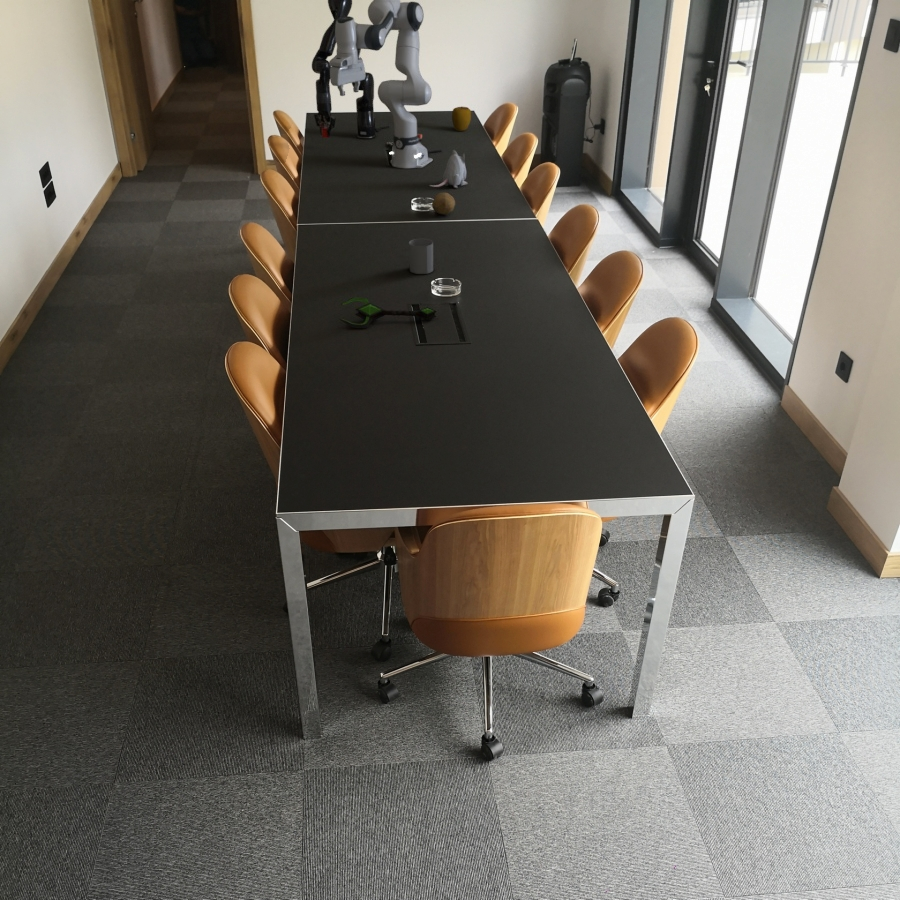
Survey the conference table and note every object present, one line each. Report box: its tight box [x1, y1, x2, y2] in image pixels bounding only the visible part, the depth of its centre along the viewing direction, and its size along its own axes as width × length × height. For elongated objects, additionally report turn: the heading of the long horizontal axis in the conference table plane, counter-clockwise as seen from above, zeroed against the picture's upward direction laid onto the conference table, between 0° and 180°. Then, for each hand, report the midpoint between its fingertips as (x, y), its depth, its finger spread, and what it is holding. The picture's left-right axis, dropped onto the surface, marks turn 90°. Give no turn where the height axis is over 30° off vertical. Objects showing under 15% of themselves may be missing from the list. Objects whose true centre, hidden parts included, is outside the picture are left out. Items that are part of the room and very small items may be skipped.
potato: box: [431, 192, 456, 216], centre depth 360 cm, size 10×14×8 cm
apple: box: [451, 105, 472, 132], centre depth 487 cm, size 11×11×13 cm
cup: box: [408, 237, 434, 275], centre depth 305 cm, size 8×8×10 cm
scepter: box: [339, 296, 438, 329], centre depth 270 cm, size 6×13×30 cm
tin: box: [321, 126, 329, 139], centre depth 453 cm, size 4×4×4 cm
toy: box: [428, 149, 468, 189], centre depth 390 cm, size 9×24×15 cm, turn 137°
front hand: (349, 93), depth 377 cm, fingers open, 8 cm apart
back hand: (326, 135), depth 454 cm, fingers closed on tin, 4 cm apart
